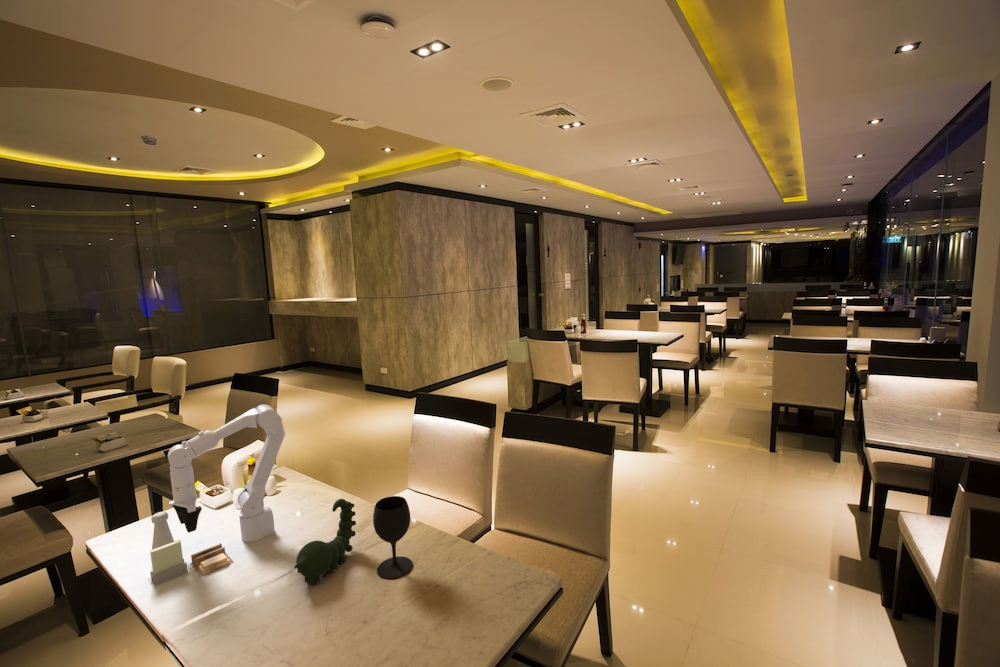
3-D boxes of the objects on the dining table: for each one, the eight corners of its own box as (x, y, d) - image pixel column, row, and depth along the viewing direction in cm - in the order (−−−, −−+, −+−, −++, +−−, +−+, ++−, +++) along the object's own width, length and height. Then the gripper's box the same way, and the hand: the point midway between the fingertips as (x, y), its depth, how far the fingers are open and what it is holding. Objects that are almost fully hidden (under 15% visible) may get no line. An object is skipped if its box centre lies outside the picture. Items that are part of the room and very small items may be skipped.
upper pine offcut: (223, 556, 140) (223, 552, 140) (227, 560, 138) (227, 557, 138) (200, 565, 136) (200, 562, 136) (204, 570, 134) (204, 567, 133)
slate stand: (185, 566, 139) (184, 555, 138) (190, 574, 135) (189, 563, 134) (148, 581, 132) (147, 570, 132) (153, 590, 128) (151, 579, 128)
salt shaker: (163, 558, 143) (158, 519, 142) (148, 557, 144) (142, 517, 143) (179, 547, 149) (175, 509, 147) (165, 546, 150) (160, 508, 148)
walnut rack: (223, 552, 145) (222, 542, 145) (234, 564, 139) (233, 554, 138) (190, 565, 139) (188, 555, 139) (199, 579, 132) (198, 568, 132)
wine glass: (420, 562, 137) (416, 498, 135) (398, 583, 128) (394, 515, 125) (391, 554, 141) (387, 492, 139) (369, 574, 132) (364, 508, 130)
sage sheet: (182, 568, 136) (179, 539, 135) (184, 570, 135) (180, 541, 134) (153, 580, 131) (150, 550, 130) (155, 582, 130) (151, 552, 129)
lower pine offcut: (225, 558, 141) (225, 555, 141) (229, 563, 138) (229, 560, 138) (199, 569, 136) (198, 565, 136) (203, 574, 133) (202, 571, 133)
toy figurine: (338, 550, 147) (280, 595, 124) (337, 491, 147) (279, 525, 123) (364, 554, 145) (310, 601, 121) (363, 494, 144) (309, 529, 120)
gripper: (161, 482, 142) (166, 524, 143) (173, 496, 132) (179, 540, 134) (188, 474, 147) (193, 515, 149) (201, 487, 137) (206, 530, 139)
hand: (188, 526), depth 141 cm, fingers open, 7 cm apart
